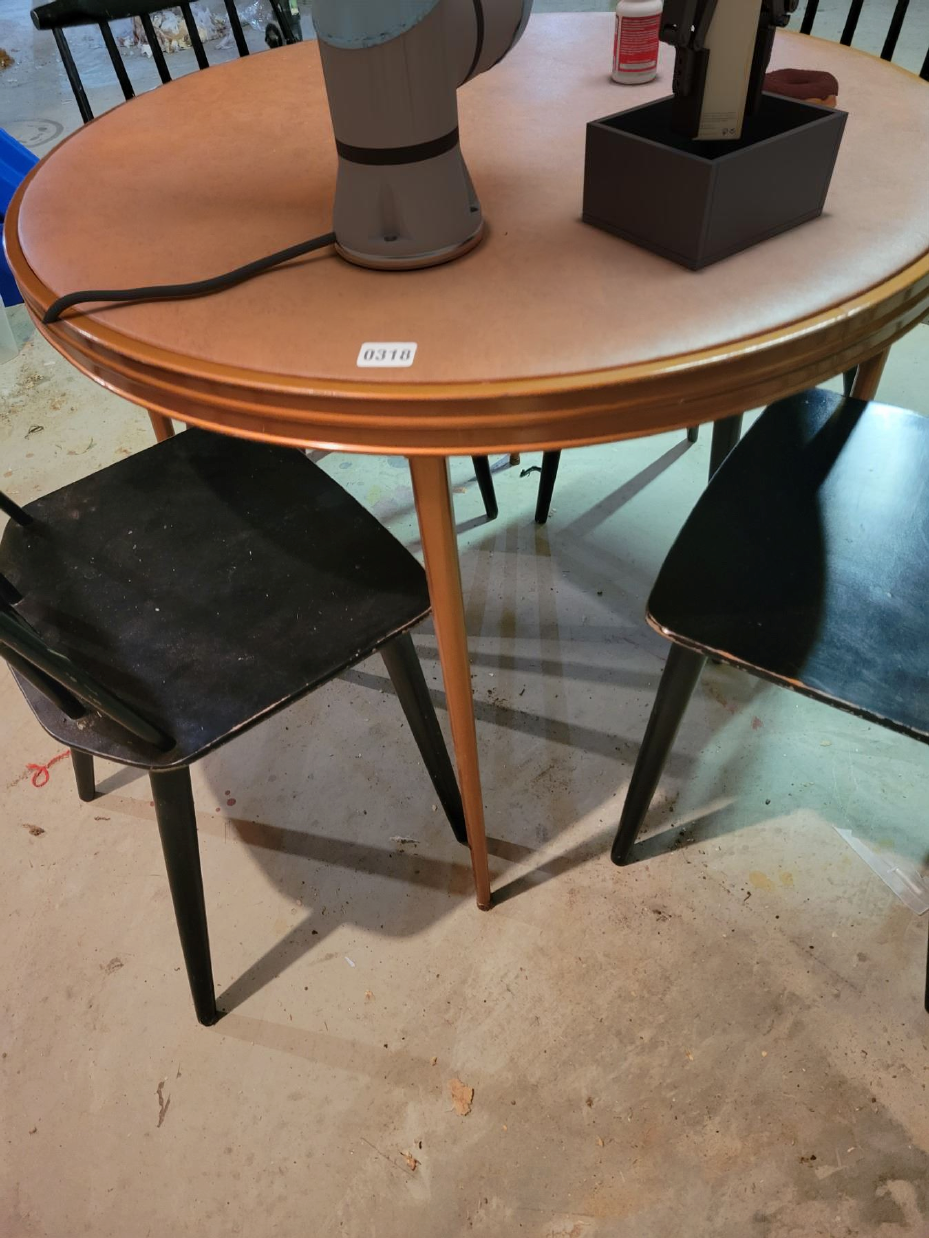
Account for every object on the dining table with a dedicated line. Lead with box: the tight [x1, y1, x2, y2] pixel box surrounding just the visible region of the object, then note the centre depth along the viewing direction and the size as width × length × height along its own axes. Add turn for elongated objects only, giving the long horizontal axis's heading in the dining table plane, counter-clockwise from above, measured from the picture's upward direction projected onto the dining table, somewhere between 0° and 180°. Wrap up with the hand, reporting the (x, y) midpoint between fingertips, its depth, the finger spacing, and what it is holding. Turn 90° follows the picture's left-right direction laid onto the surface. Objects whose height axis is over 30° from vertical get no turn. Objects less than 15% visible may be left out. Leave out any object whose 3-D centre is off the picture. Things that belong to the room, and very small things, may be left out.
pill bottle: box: [611, 0, 663, 85], centre depth 105 cm, size 6×6×11 cm
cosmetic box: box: [692, 0, 762, 140], centre depth 67 cm, size 6×4×12 cm
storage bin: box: [581, 91, 850, 272], centre depth 74 cm, size 18×16×9 cm
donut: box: [762, 67, 840, 109], centre depth 94 cm, size 10×10×4 cm
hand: (714, 123), depth 71 cm, fingers closed on cosmetic box, 7 cm apart
